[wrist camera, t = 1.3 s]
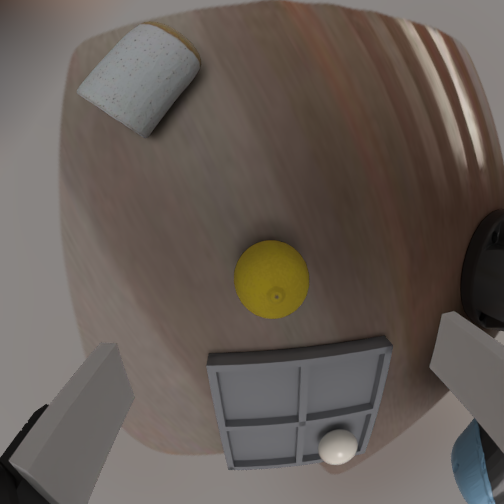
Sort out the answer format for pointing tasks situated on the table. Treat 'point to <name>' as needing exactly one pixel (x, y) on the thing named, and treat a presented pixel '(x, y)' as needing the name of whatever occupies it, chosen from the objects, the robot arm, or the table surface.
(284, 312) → the lemon
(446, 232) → the table surface
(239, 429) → the compartment tray
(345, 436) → the cream egg
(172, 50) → the ceramic mug
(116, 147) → the table surface
